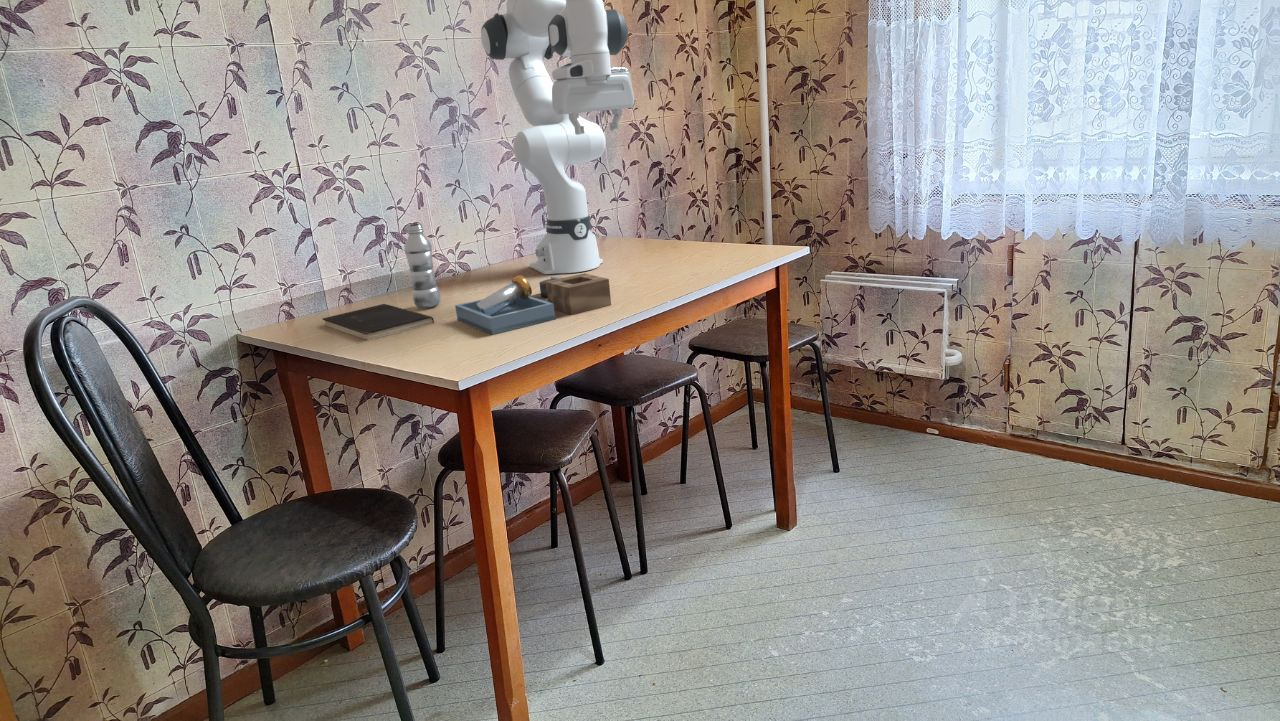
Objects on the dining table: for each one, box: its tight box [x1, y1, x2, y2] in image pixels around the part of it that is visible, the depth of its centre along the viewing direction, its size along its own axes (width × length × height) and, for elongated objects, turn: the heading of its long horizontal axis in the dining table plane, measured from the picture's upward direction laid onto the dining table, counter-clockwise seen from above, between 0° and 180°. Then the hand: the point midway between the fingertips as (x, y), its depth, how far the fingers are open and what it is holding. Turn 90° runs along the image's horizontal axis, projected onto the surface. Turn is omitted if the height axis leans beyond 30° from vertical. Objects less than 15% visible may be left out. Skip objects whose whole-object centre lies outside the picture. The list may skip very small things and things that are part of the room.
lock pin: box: [476, 274, 533, 316], centre depth 183 cm, size 5×5×12 cm
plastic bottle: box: [403, 223, 441, 309], centre depth 198 cm, size 6×7×20 cm
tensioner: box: [530, 272, 612, 316], centre depth 192 cm, size 19×10×6 cm, turn 35°
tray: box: [454, 296, 556, 336], centre depth 182 cm, size 18×15×4 cm
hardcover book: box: [322, 303, 435, 341], centre depth 189 cm, size 16×23×2 cm
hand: (597, 132), depth 191 cm, fingers open, 8 cm apart
